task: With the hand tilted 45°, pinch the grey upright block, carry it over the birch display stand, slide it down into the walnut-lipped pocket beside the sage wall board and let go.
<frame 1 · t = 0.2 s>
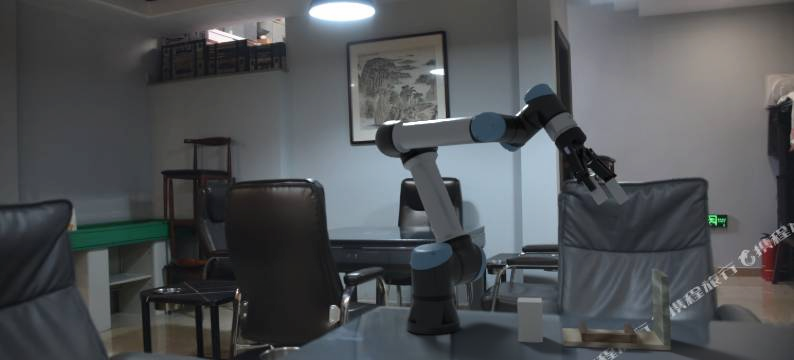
hand: (614, 201, 139), 35 cm above the table, tool tilted 35°, fingers open, 13 cm apart
display stand: (613, 340, 143), on the table
grey upright block: (530, 339, 147), on the table
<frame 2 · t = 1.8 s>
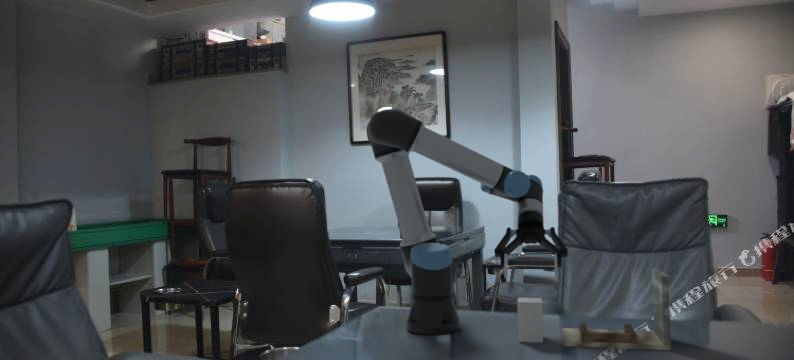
hand: (530, 275, 157), 15 cm above the table, tool tilted 45°, fingers open, 13 cm apart
nothing on the table moved.
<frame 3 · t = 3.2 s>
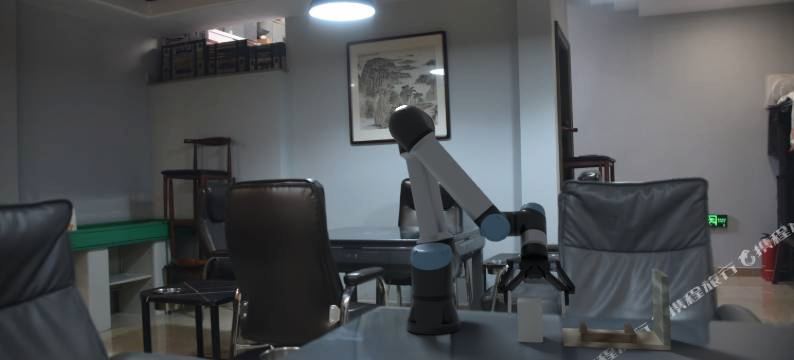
hand: (536, 315, 147), 6 cm above the table, tool tilted 45°, fingers open, 13 cm apart
nothing on the table moved.
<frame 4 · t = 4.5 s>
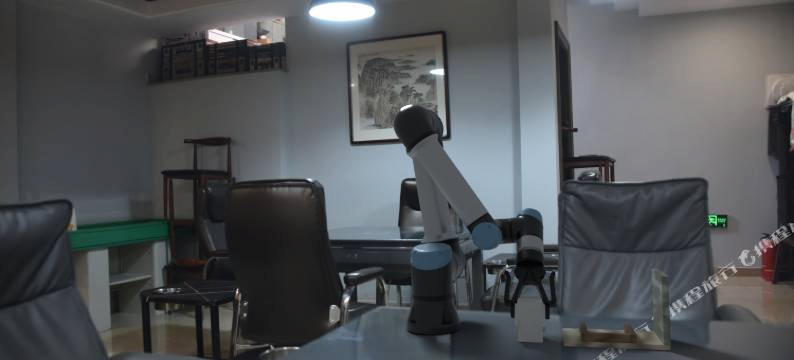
hand: (530, 328, 143), 3 cm above the table, tool tilted 45°, fingers closed on grey upright block, 6 cm apart
grey upright block: (530, 338, 147), on the table, touching gripper
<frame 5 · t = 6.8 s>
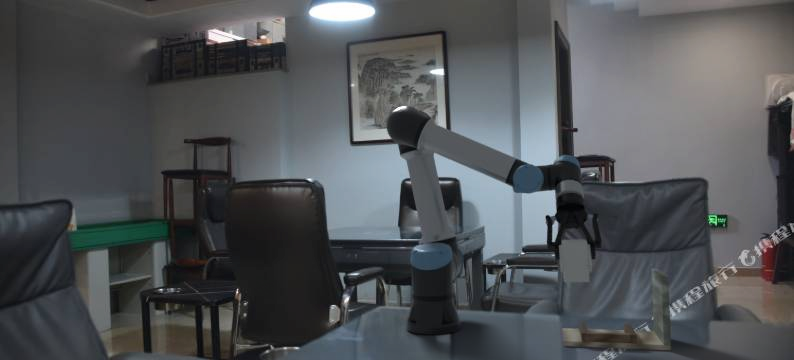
hand: (576, 268, 141), 19 cm above the table, tool tilted 45°, fingers closed on grey upright block, 6 cm apart
grey upright block: (576, 280, 145), point 15 cm above the table, touching gripper
when the fingers open (6 cm above the table, at t = 9.0 s): grey upright block drops 1 cm, resting on display stand.
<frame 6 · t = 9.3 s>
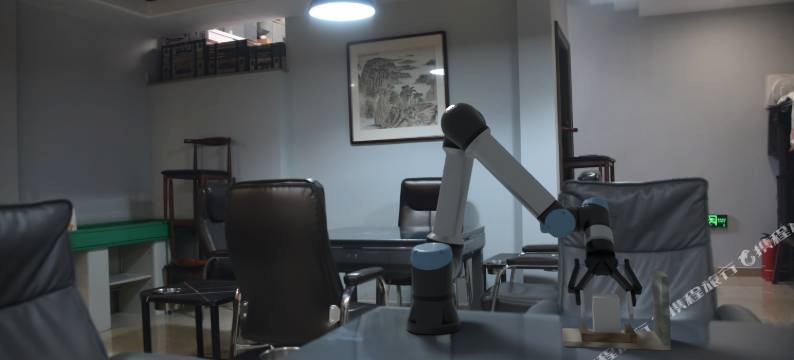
hand: (607, 316, 140), 7 cm above the table, tool tilted 45°, fingers open, 10 cm apart
grey upright block: (606, 335, 143), point 1 cm above the table, touching display stand
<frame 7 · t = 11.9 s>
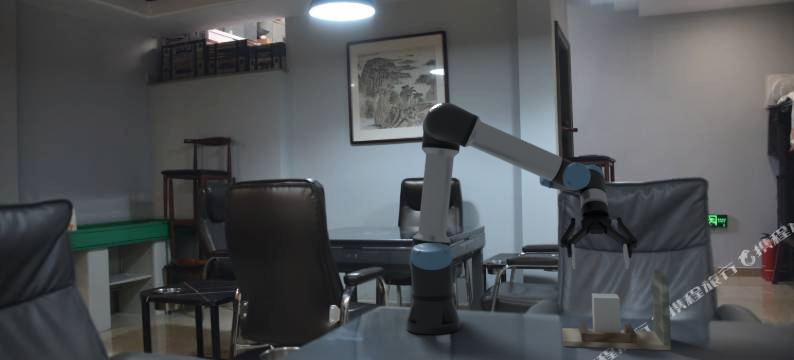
hand: (600, 266, 154), 17 cm above the table, tool tilted 45°, fingers open, 13 cm apart
nothing on the table moved.
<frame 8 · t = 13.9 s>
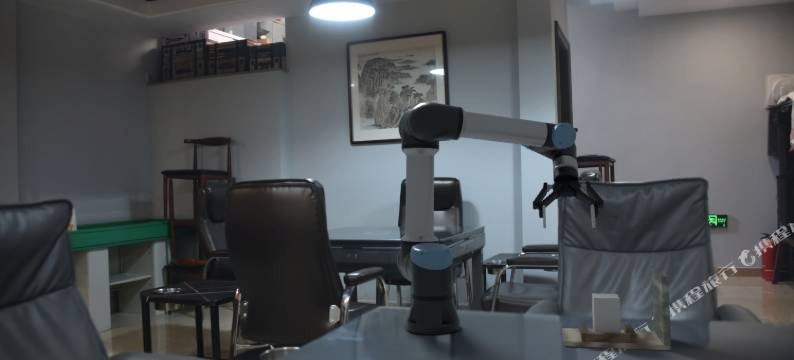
hand: (569, 225, 164), 28 cm above the table, tool tilted 45°, fingers open, 13 cm apart
nothing on the table moved.
at the end: grey upright block 0.0 cm from the target spot on the display stand, point 1.2 cm above the display stand's base; grey upright block tilted 0°; the gripper is holding nothing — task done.
